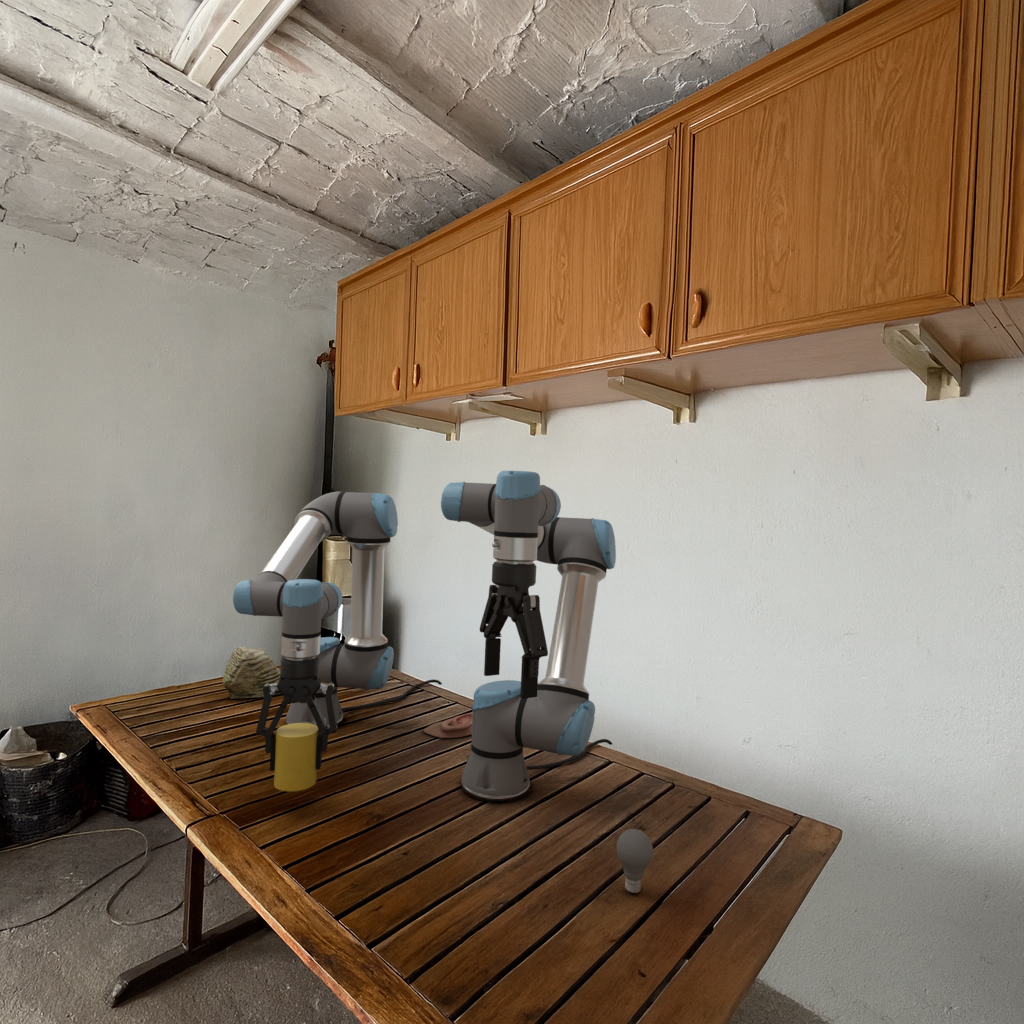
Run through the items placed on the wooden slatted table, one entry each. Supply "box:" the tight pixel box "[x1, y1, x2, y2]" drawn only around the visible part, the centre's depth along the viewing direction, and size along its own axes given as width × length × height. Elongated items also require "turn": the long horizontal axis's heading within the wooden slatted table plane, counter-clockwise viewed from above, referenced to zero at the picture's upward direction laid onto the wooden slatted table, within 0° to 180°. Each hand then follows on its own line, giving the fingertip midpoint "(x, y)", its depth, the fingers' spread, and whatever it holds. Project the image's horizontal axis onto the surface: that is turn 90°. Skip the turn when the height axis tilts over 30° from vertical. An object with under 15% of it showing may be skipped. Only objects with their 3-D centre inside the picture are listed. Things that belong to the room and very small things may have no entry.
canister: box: [273, 723, 319, 792], centre depth 129 cm, size 8×8×11 cm
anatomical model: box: [423, 712, 472, 739], centre depth 174 cm, size 13×4×12 cm
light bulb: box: [615, 828, 654, 894], centre depth 106 cm, size 6×6×10 cm
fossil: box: [222, 646, 281, 699], centre depth 198 cm, size 9×18×15 cm, turn 132°
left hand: (296, 767), depth 129 cm, fingers closed on canister, 8 cm apart
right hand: (509, 685), depth 108 cm, fingers open, 13 cm apart
